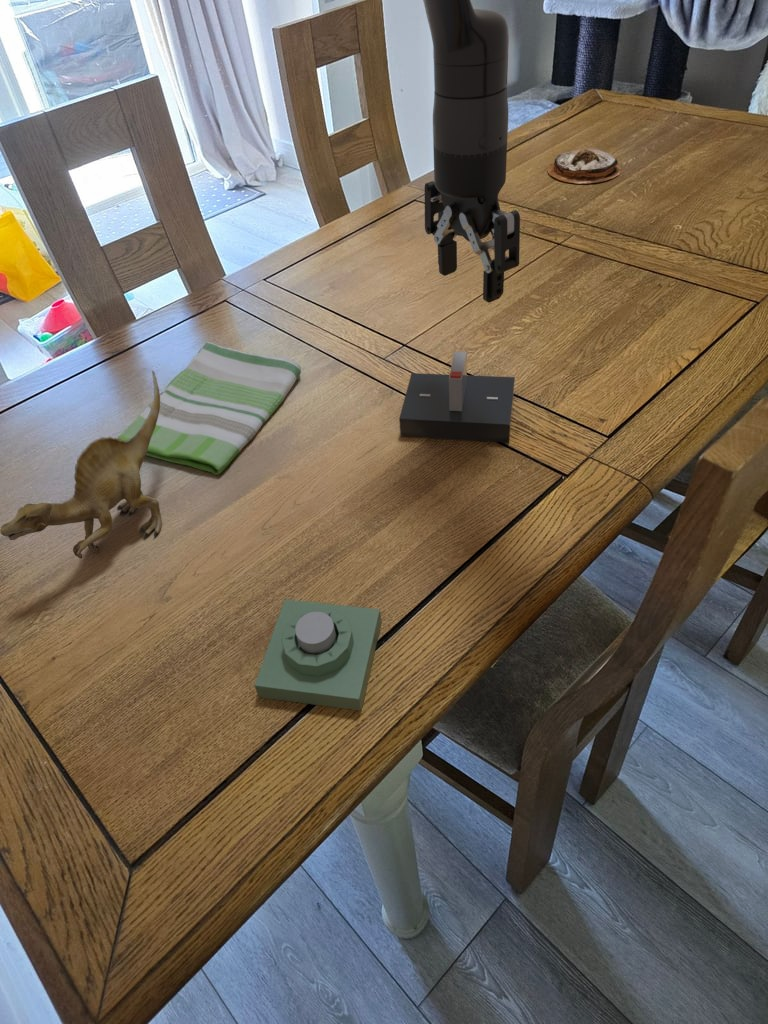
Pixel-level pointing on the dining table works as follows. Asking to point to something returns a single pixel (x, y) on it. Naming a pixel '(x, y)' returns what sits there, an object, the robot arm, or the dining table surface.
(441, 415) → the lever base
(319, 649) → the button
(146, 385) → the dining table surface
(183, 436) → the dish towel
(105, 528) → the dinosaur figurine
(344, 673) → the button block
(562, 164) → the powdered cake
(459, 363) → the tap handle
